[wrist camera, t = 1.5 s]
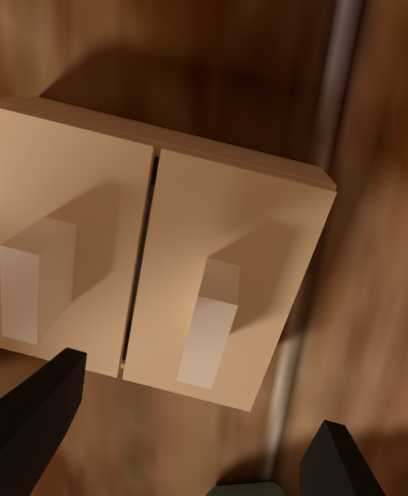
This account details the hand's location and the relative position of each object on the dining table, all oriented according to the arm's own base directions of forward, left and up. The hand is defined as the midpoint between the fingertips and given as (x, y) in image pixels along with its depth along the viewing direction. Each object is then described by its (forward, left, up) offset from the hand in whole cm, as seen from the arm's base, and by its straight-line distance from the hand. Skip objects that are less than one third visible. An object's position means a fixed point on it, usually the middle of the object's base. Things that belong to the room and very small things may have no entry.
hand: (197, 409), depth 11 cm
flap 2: (0, 0, -6) cm, 6 cm away
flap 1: (-7, 0, -6) cm, 9 cm away
